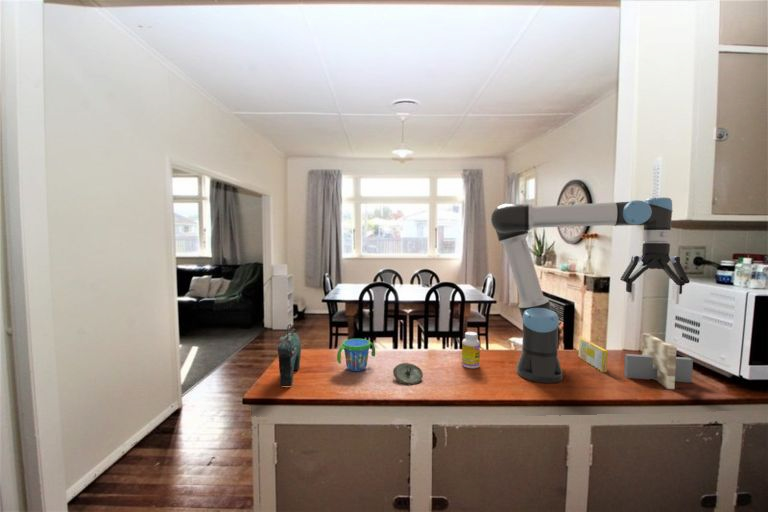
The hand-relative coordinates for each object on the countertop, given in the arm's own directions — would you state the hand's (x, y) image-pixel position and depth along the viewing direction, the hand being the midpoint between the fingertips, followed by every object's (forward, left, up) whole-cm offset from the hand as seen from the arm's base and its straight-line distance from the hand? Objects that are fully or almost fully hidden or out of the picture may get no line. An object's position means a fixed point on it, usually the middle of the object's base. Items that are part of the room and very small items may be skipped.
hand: (652, 302), depth 121 cm
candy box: (-15, +9, -27) cm, 33 cm away
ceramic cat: (-127, -26, -27) cm, 132 cm away
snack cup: (-105, -13, -27) cm, 110 cm away
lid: (-85, -19, -27) cm, 91 cm away
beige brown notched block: (+1, -2, -27) cm, 27 cm away
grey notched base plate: (+2, -2, -27) cm, 27 cm away
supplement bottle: (-62, -2, -27) cm, 68 cm away
